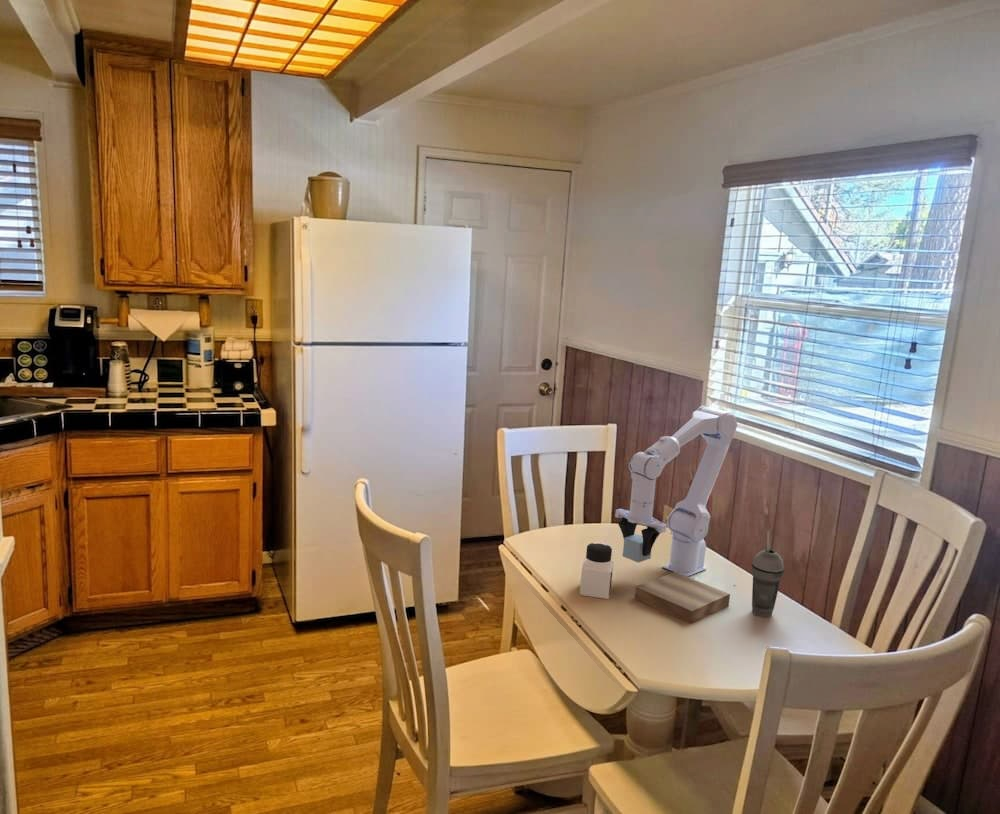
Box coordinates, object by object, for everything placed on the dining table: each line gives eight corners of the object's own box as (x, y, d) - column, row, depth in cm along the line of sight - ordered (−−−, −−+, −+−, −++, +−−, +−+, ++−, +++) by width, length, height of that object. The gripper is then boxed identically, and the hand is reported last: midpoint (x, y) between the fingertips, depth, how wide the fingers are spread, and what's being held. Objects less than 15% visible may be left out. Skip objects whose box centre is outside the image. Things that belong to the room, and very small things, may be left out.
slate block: (634, 552, 197) (636, 533, 196) (650, 558, 193) (652, 539, 192) (622, 556, 194) (624, 537, 193) (638, 562, 190) (640, 543, 189)
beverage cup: (762, 622, 175) (773, 539, 171) (739, 609, 181) (749, 529, 178) (784, 617, 178) (796, 536, 175) (761, 604, 184) (771, 526, 181)
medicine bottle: (609, 599, 182) (613, 552, 180) (579, 595, 183) (583, 548, 181) (611, 588, 189) (615, 542, 187) (582, 584, 190) (586, 538, 188)
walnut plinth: (673, 582, 194) (674, 571, 194) (728, 605, 183) (730, 593, 182) (634, 598, 184) (635, 586, 183) (690, 623, 172) (692, 610, 171)
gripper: (609, 495, 193) (605, 545, 196) (656, 510, 183) (650, 564, 185) (627, 491, 198) (622, 540, 201) (673, 505, 188) (668, 557, 190)
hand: (637, 551), depth 193 cm, fingers closed on slate block, 5 cm apart
